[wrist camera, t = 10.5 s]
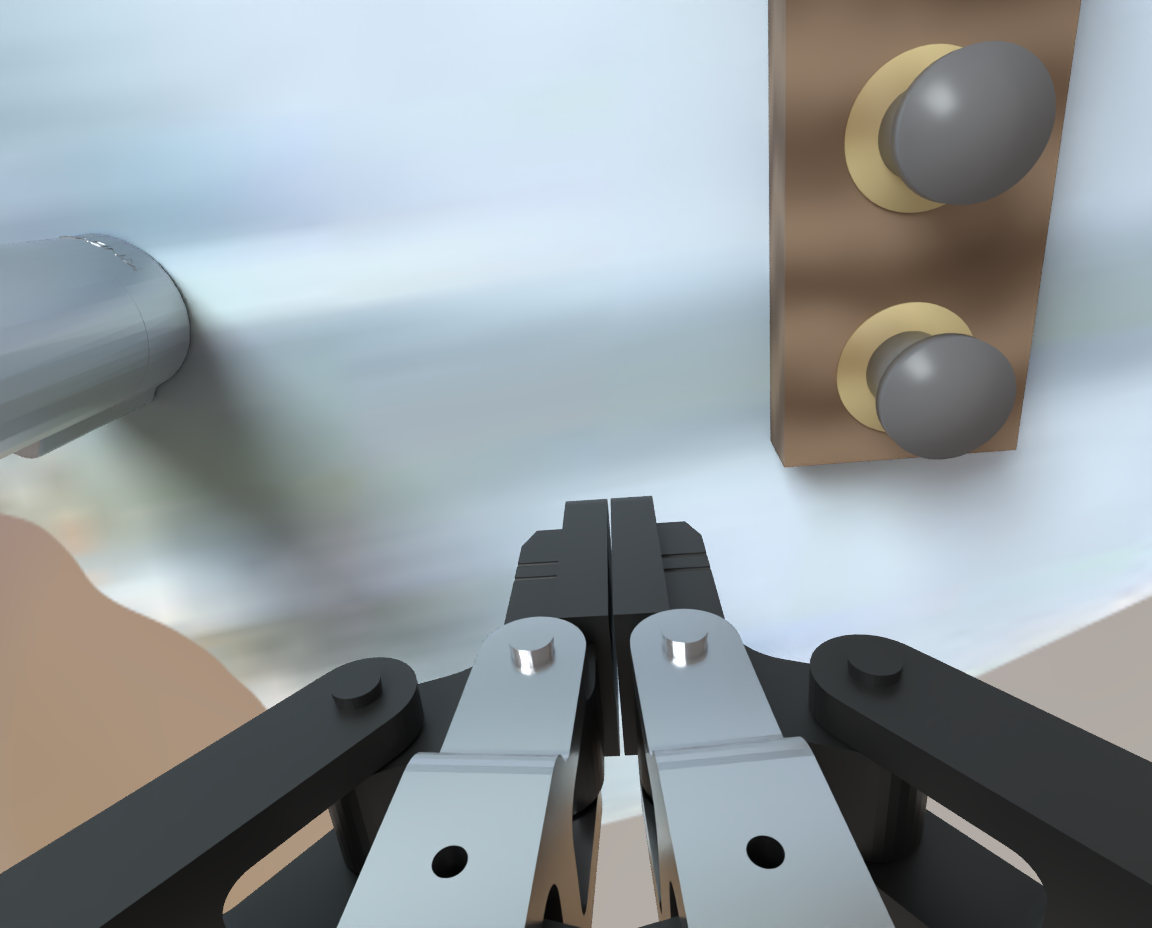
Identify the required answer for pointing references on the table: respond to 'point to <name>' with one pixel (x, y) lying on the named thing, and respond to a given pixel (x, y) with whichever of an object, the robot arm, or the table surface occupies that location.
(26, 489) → the table surface
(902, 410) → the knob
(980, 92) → the middle knob
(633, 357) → the table surface
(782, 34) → the mount board
